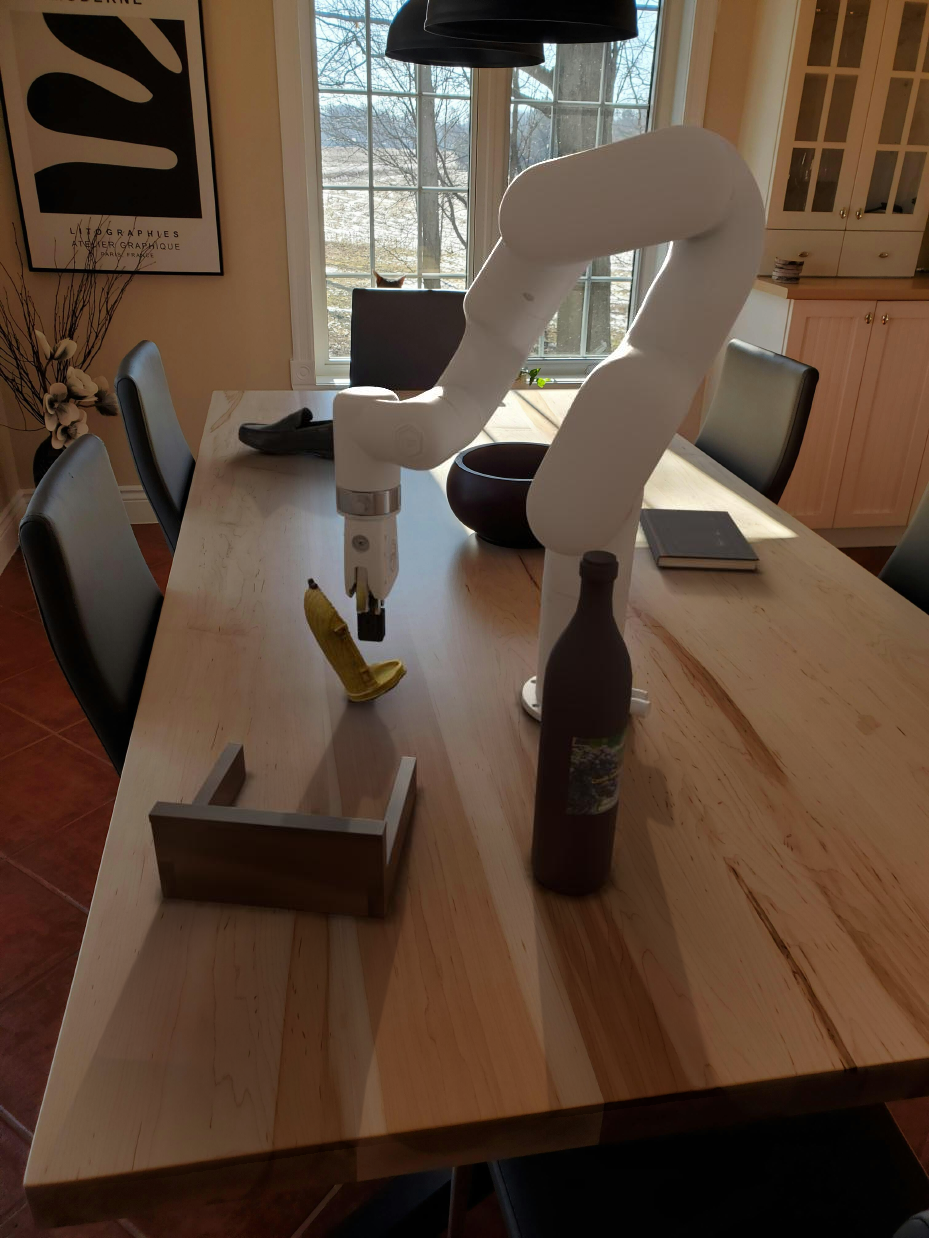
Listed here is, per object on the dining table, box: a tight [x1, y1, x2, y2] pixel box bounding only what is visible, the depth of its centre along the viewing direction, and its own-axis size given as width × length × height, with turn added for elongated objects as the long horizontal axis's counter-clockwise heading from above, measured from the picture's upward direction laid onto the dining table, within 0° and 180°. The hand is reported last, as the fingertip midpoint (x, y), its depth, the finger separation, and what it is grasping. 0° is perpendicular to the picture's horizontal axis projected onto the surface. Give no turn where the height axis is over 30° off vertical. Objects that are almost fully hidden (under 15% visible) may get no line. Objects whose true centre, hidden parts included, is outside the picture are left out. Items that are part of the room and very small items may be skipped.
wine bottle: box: [530, 550, 634, 896], centre depth 73 cm, size 7×7×30 cm
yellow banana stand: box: [303, 577, 408, 704], centre depth 103 cm, size 12×8×15 cm
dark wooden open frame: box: [147, 742, 418, 919], centre depth 81 cm, size 18×19×9 cm
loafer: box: [237, 406, 335, 460], centre depth 197 cm, size 10×29×10 cm, turn 82°
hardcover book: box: [639, 507, 761, 573], centre depth 153 cm, size 16×23×2 cm
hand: (371, 638), depth 112 cm, fingers closed
